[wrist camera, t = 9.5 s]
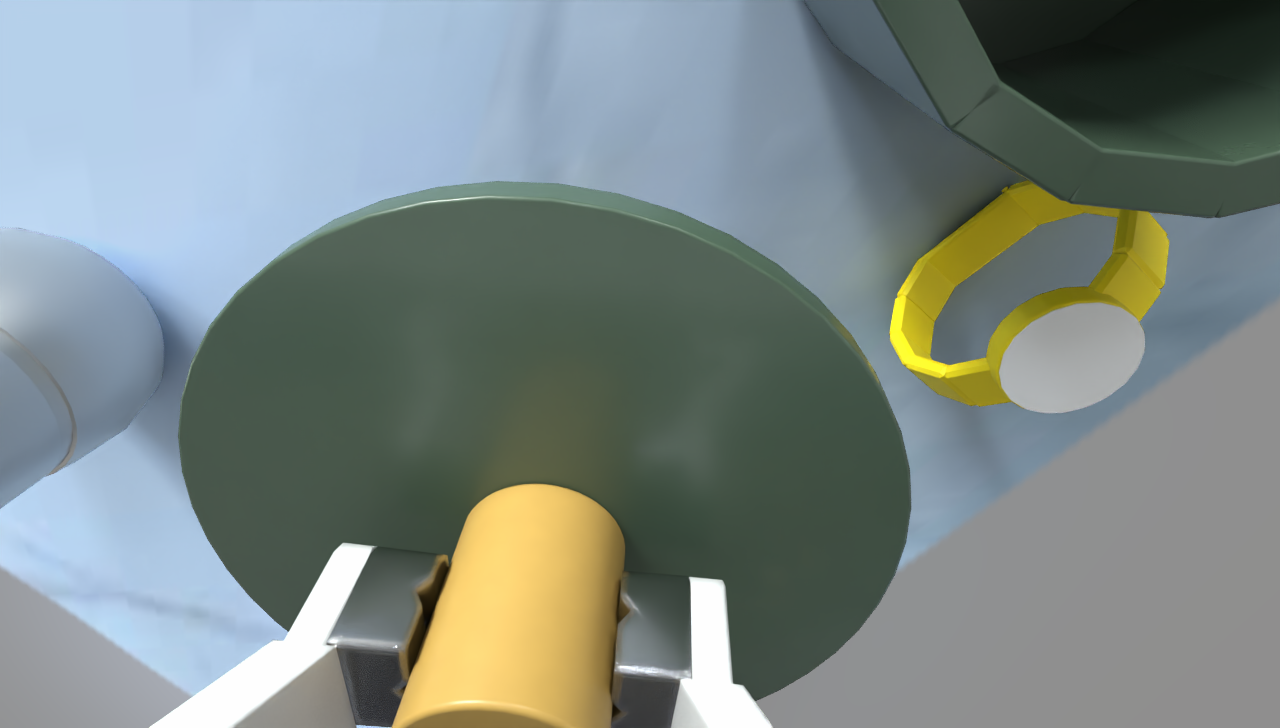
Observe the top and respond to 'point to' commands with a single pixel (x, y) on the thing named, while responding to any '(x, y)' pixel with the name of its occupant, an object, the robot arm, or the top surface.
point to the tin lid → (547, 439)
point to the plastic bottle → (67, 355)
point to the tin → (1091, 91)
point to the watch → (1036, 310)
